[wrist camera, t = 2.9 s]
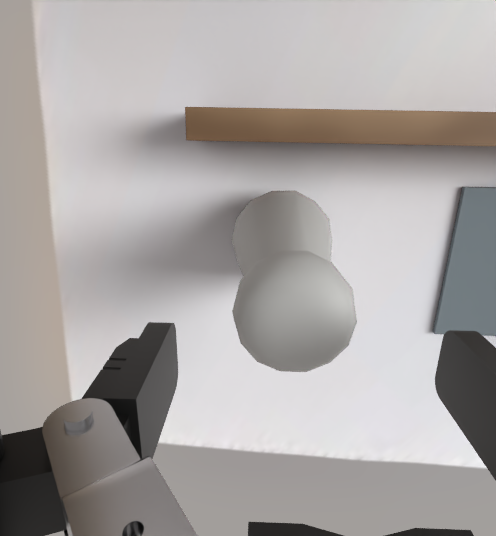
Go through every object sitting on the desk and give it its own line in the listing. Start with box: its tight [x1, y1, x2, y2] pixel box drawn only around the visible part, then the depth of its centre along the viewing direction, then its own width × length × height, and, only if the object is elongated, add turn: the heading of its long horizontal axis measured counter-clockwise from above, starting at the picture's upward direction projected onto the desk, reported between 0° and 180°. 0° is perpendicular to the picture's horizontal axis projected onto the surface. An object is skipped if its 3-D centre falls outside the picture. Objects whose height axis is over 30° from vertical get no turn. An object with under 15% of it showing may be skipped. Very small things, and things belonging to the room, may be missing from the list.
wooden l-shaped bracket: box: [185, 107, 496, 146], centre depth 23 cm, size 16×30×4 cm, turn 89°
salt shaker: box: [232, 191, 357, 372], centre depth 18 cm, size 6×6×13 cm
